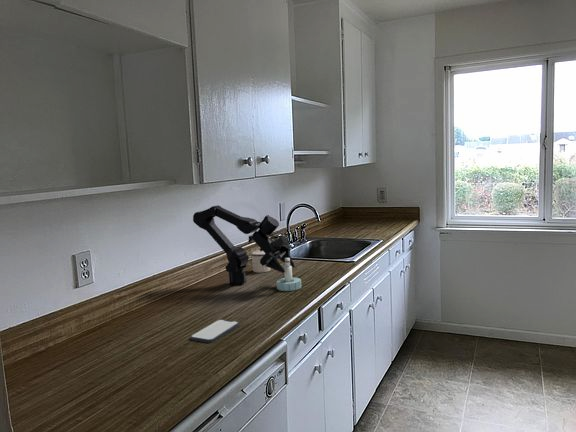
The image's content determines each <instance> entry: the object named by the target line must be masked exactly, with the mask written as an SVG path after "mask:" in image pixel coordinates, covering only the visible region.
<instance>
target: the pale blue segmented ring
mask: <svg viewBox="0 0 576 432" xmlns="http://www.w3.org/2000/svg"><path fill="white" fill-rule="evenodd" d="M292 280H293V281H292V282H285V277H282V278H279V279H277V280H276V290H279V291H282V292H291V291H296V290H300V289H301V288H302V279H301V278H299V277H293V276H292Z"/></svg>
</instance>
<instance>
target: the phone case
mask: <svg viewBox="0 0 576 432" xmlns="http://www.w3.org/2000/svg"><path fill="white" fill-rule="evenodd" d="M239 327H240V322H239V321H234V320H227V319H217V320H216V321H214V322H213V323H211V324H209V325H207V326H205V327H204V328H202V329H200V330H199V331H197V332H196V333H193V334H191V336H190V340H191V341H196V342H201V343H207V344H211V343H214V342H217V340H219V339H221V338H222V337H224V336H225V335H227V334H230V333H231V332H232V331H234V330H236V329H237V328H239Z"/></svg>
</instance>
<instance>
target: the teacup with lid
mask: <svg viewBox="0 0 576 432" xmlns="http://www.w3.org/2000/svg"><path fill="white" fill-rule="evenodd" d="M260 249H261V248H260V247H259V246H258V247H257V249H256V250H255V251H252V252H251V254H250V255H249V256H248V257H249V258H248V259H250V258H252V260H251V262H252V263H250V261H248V263H247V265H248V266H250V267H252V271H253V273H258V274H261V273H262V274H263V273H268V272H270V271H271V269H272V268H269V267H265V266H266V265H265V266H262V265H261V264H260V259H261V258H262V257H263V256H264V255H265V253H264V252H263V251H260Z"/></svg>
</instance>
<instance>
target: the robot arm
mask: <svg viewBox="0 0 576 432" xmlns="http://www.w3.org/2000/svg"><path fill="white" fill-rule="evenodd" d="M215 217H217V218H219V219H221V220H222V221H225V222H227V223H229V224H231V225H234V226H235V227H236V228H237V229H238V231H240V232H241V233H243V234H245V235H248V243H253V242H254V243H255V244H256V245H257V247H258V248H259V247H260V248H261V249H260V251H263V252H264V253H265V255H264V256H263V257H262V258H261V259H260V264H261V265H262V266H265V265H266V266H265V267H269V268H271V269H273V270H275V271H278V272H280V273H282V274H284V272H285V270H284V266H282V265H281V263H280V262H279V261H281V262H283V263H284V264H285V258H290V266H292V269H294V268H295V267H296V265H295V263H294V261H293V259H292V257H291V249H292V247H291V246H290V245H289V244H288V243H289V241H288V239H289V238H288V236H287V235H285V234H281V235H279V237H278V238H277V239H275V238H270V236H272V235H273V233H274V232H275V231H276V230H277V229H278V227H279V226H280V222H279V221H278V220H277V219H276V218H274V217H272V216H270V215H269V214H266V215H265V217H264V218H263V219H262V220H261V221H258V220H257V219H255V218H253V217H252V218H250V217H248V216H247V217H245V216H242V215H241V216H240V215H238V214H236V213H235V212H233V211H230V210H228V209H226V208H223V207H222V206H221V205H218V204H217V205H213V206H210V207H209V208H207V209H205V210H201V211H196V212H194V214H193V216H192V221H193V223H194V224H195V225H196V226H198V228H200V229H203V230H204V231H206V232H207V233H208V234H209V236H211V238H212V239H213V240H214V241H215V242H216V244H217V245H218V246H219V247H220V248H221V249H222V251H223V252H224V253H225V254H226V259H227V261H228V264H226V266H225V270H226V273H227V272H228V281H229V283H228V284H227V285H229V286H242V285H244V284H245V283H246V282H247V277H246V275H247V274H246V271H245V269H246V268H247V265H248V261H249V259H250V258H249V256H248V252H247V251H246V250H244V248H243V247H242V246H239V247H236V246H235V244H233V243H232V242H231V240H230V239H229V238H228V237H227V236H226V234H225V233H224V232H223V231H221V229H220V228H219V227H218V225H216V223H215ZM252 233H253V234H252ZM249 234H252V235H249ZM248 258H249V259H248ZM278 259H279V261H278ZM249 262H250V261H249Z"/></svg>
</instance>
